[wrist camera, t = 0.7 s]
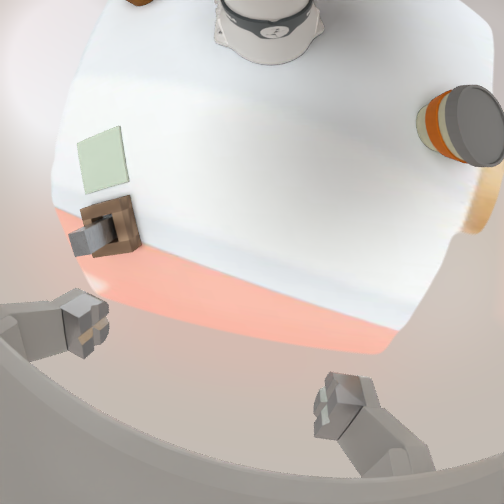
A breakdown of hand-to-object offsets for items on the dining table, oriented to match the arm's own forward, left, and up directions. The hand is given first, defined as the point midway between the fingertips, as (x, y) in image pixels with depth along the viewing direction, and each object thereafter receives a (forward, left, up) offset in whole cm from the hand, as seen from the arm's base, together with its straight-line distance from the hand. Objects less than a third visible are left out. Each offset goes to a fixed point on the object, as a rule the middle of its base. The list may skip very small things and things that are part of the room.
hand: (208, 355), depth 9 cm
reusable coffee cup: (-10, +34, -39) cm, 52 cm away
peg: (+1, -29, -39) cm, 48 cm away
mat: (-12, -29, -38) cm, 50 cm away
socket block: (+1, -29, -38) cm, 48 cm away
